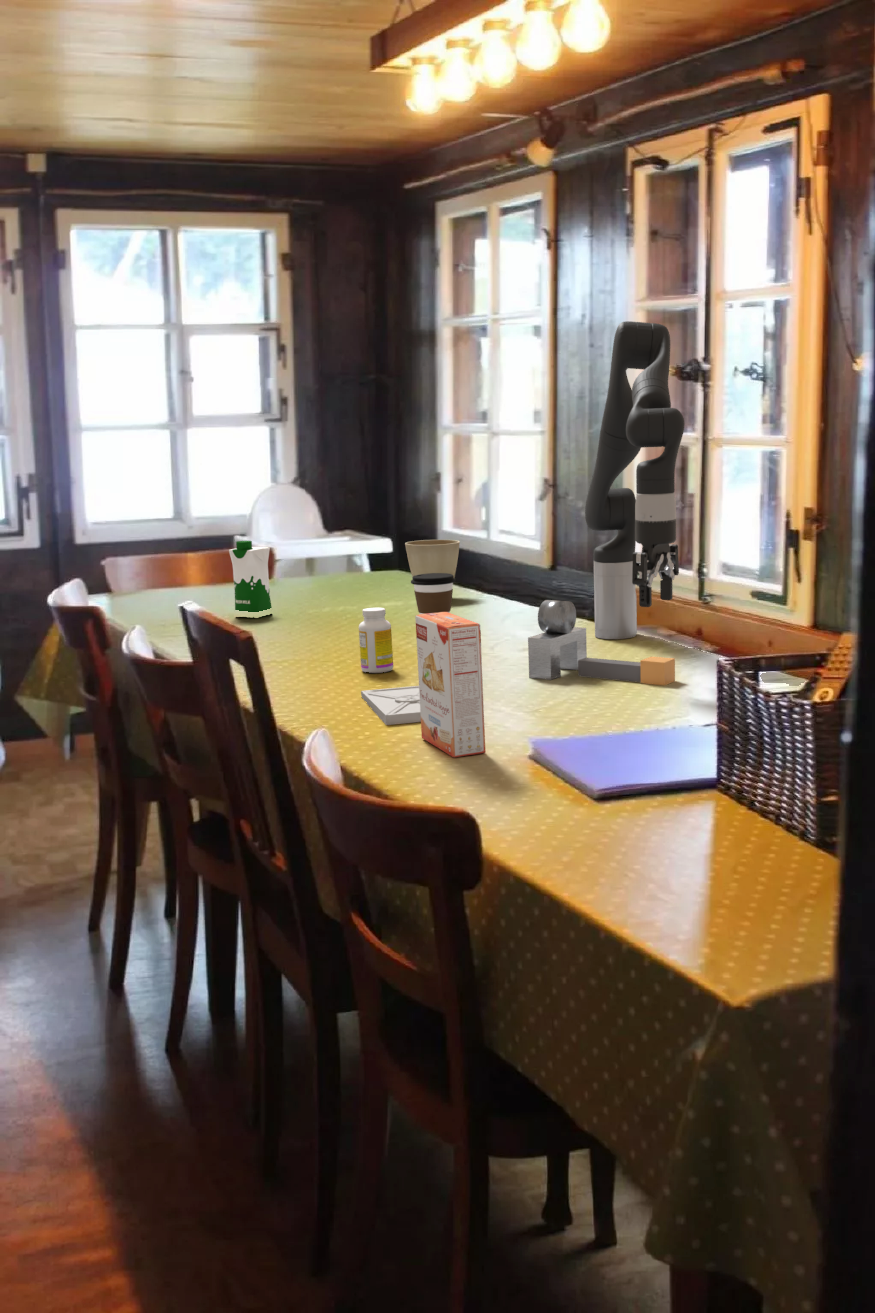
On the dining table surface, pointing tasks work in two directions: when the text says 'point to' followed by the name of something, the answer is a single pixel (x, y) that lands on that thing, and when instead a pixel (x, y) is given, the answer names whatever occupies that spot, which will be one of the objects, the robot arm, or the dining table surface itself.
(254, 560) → the milk carton
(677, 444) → the robot arm
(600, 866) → the dining table surface
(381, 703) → the envelope
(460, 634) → the cracker box
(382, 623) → the supplement bottle
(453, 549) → the plant pot
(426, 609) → the coffee cup
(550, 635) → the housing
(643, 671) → the plug
